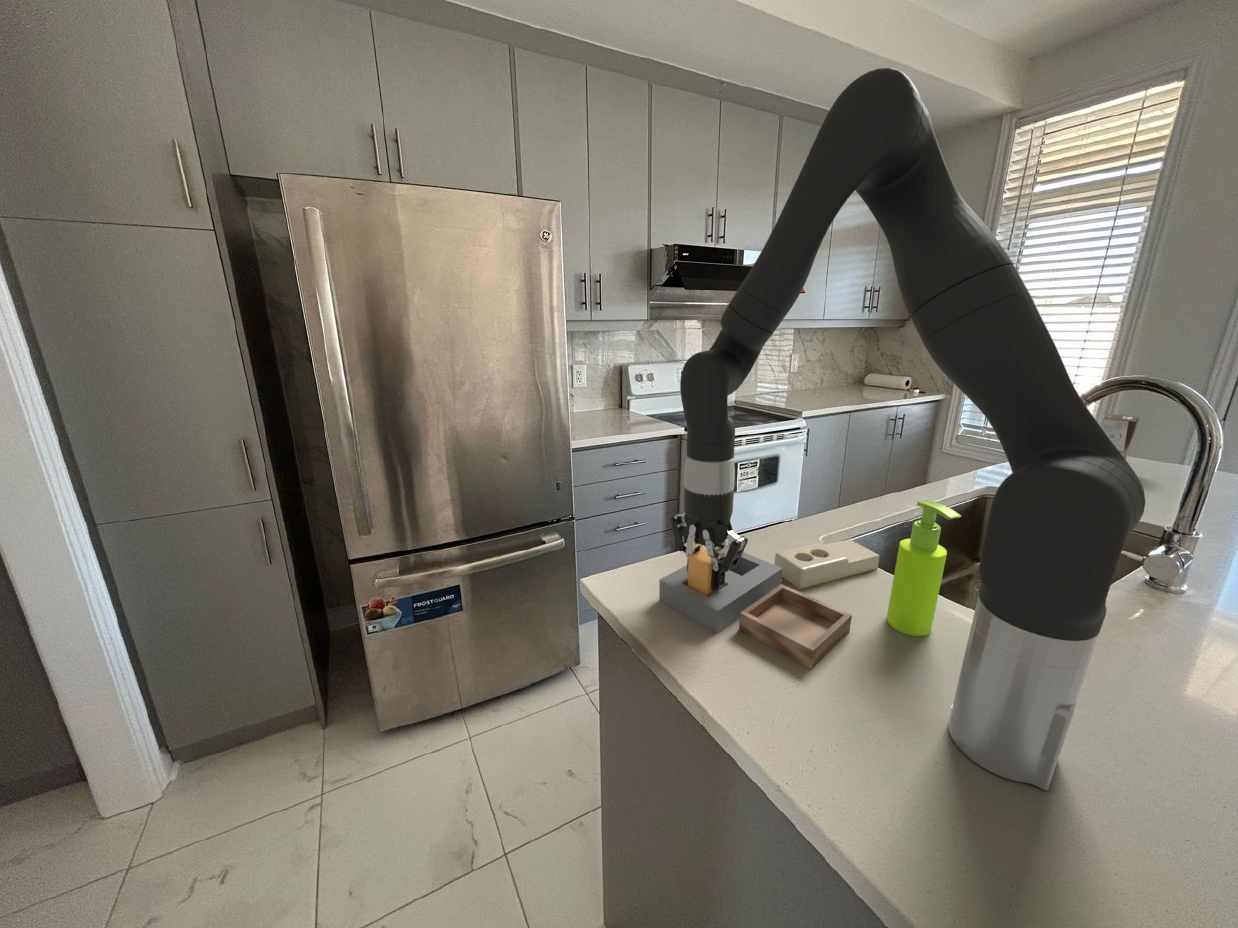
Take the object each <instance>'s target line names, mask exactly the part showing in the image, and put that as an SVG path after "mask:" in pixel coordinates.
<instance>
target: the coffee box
mask: <svg viewBox="0 0 1238 928" xmlns="http://www.w3.org/2000/svg"><path fill="white" fill-rule="evenodd" d="M1139 420H1140V416H1136V415H1135V416H1133V415H1126V414H1125V415H1123V414H1115V413H1114V414H1113V413H1109V414H1107V415H1106V416H1105V417H1104V418H1103V420H1102V425H1101V428H1102V429H1103V431H1104V432H1105V433H1106V435H1107V436H1108V437H1109V439H1110V440H1111V441H1112V443H1113V444H1114V445H1115V447H1116V448H1117V449H1118V451H1119V452H1120V453H1121V455H1122V456H1123V457H1124V459H1125V460H1126V461H1127V457H1128V454H1129V451H1130V449H1131V445H1132V442H1133V439H1134V435H1135V433H1136V429H1137V426H1138V422H1139Z"/></svg>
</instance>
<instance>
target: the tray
mask: <svg viewBox="0 0 1238 928" xmlns="http://www.w3.org/2000/svg"><path fill="white" fill-rule="evenodd" d="M852 617H853V615H852V614H851V613H848V612H846V611H844V610H842V609H839V608H837V607H835V606H832V605H831V604H828V603H826V602H824V601H822V600H818V599H817V598H814V597H811V596H810V595H807V594H805V593H803V592H800V591H798V590H797V589H793V588H791V587H789V586H786V585H785V584H782V583H781V585H779V586H778V587H776V588H775V589H773V590H772V591H771V592H769V593H768V594H766V595H765V596H763V597H762V598H760V599H759V600H758V601H756V602H755V603H753V604H752V605H750V606H749V607H748V608H746V609H745V610H743V611H742V612H740V618H739V623H738V630H739V631H741V632H742V633H745V634H746V635H748V636H749V637H752V638H754V639H755V640H757V641H759V642H761V643H763V644H764V645H766V646H769V647H770V648H772V649H773V650H775V651H777V652H779V653H781V654H783V655H784V656H786V657H788V658H790V659H791V660H794V661H795V662H797V663H799V664H801V665H803V666H805V667H806V668H808V669H810V670H812V669H813V668H814V667H815V666H816V665H817V664H818V663H819V662H821V660H822V659H823V658H824V657H826V655H828V654H829V653H830V651H832V649H834V648H835V647H836V646H837V645H838V644H839V642H841V641H842V640H843V639H844V638H845V637H846V636H847V635H848V634H849V633H850V630H851V625H852V624H851V623H852Z"/></svg>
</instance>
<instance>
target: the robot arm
mask: <svg viewBox="0 0 1238 928" xmlns="http://www.w3.org/2000/svg"><path fill="white" fill-rule="evenodd" d="M918 91H919V90H917V88H916V86H915V85H914V83H913V82H912V80H911V79H910V78H909V77H908V75H907V74H905V73H904V72H903V71H901V70H900V69H896V68H891V67H882V68H881V67H880V68H876V69H873V70H869V71H867V72H865V73H864V74H862V75H860V76H858V77H857V78H856V79H855V80H853V81H852V82H851V83H849V84H848V85H847V86H846V87H845V89H844V90H843V91H841V93H840V94H839V96H838V97H837V98H836V99H835V101H834V102H833V104H832V105H831V107H830V108H829V111H828V112H827V114H826V116H825V118H824V120H823V122H822V124H821V126H820V128H819V130H818V133H817V135H816V137H815V139H814V141H813V144H812V146H811V147H810V150H809V152H808V154H807V157H806V159H805V161H804V164H803V165H802V168H801V170H800V172H799V174H798V177H797V178H796V181H795V182H794V185H793V187H792V189H791V191H790V193H789V195H788V198H787V200H786V202H785V204H784V205H783V208H782V210H781V213H780V215H779V217H778V218H777V220H776V223H775V224H774V227H773V229H772V231H771V233H770V235H769V236H768V238H767V240H766V242H765V244H764V246H763V248H762V249H761V251H760V253H759V255H758V257H757V258H756V261H754V263H753V265H752V267H751V269H750V270H749V272H748V273H747V275H746V276H745V278H744V279H743V281H742V283H741V284H740V285H739V287H738V289H737V291H736V292H735V293H734V295H733V297H731V298H732V299H731V300H730V301H729V303H728V305H727V306H726V308H725V310H724V312H723V313H722V316H721V318H720V327H721V330H720V331H719V333H718V334H717V337H716V339H715V341H714V342H713V344H712V345H711V346H710V347H709V349H708V350H703V351H700V352H697V353H695V354H693V355H691V356H690V357H689V358H688V359H687V360H686V362H685V363H684V364H683V366H682V370H681V373H680V382H679V385H680V386H679V387H680V391H679V392H680V398H681V403H682V408H683V415H684V420H685V423H686V426H687V427H686V428H687V431H686V451H685V452H686V453H685V454H686V457H685V464H684V471H683V472H684V476H683V477H684V478H683V512H680V513H678V514H675V515H673V516H671V517H670V522H671V523H670V524H671V526H672V527H671V528H672V531H673V535H674V539H675V543H676V548H677V550H678V551H679V552H683V553H684V554H685V557H686V558H687V562H686V564H687V572H688V557H689V556H690V555H692V554H694V553H696V552H698V551H700V550H702V549H703V546H704V547H705V549H707V554H708V556H709V557H710V558H711V564H712V568H713V569H712V575H711V589H712V590H714V591H716V590H718V589H719V588H721V587H722V586H724V584H725V572H727V571H729V570H731V569H732V568H734V567H736V566H737V565H738V562H739V560H740V558H741V556H742V553H743V552H744V551H745V549H746V547H747V544H748V543H749V542H748V541H749V540H748V537H747V536H746V535H742V536H739V535H738V534H737V533H736V532H734V531H733V530H734V529H733V526H732V524H731V519H732V515H733V512H734V498H735V497H734V493H735V479H736V477H735V476H736V475H735V473H736V471H735V470H736V469H735V466H736V465H735V446H736V445H735V444H736V443H735V442H736V426H735V422H734V421H733V419H732V418H730V417H729V411H728V410H729V409H728V407H729V405H728V396H730V395H732V394H733V393H735V392H736V391H737V390H738V389H739V388H740V387H741V386H742V384H744V382H745V380H746V379H747V377H748V375H749V374H750V373H751V371H752V370H753V367H754V366H755V363H756V362H757V360H758V358H759V356H760V354H761V352H762V350H763V348H764V346H765V344H766V343H767V342H768V341H769V339H770V338H771V337H772V335H773V334H774V333H775V331H776V330H777V329H778V327H780V325H781V323H782V322H783V320H784V319H785V318H786V316H787V315H788V313H789V311H791V309H792V307H793V306H794V304H795V303H796V302H797V300H798V298H799V296H800V294H801V293H802V291H803V289H804V286H805V285H806V282H807V280H808V277H809V275H810V272H811V270H812V268H813V265H814V262H815V260H816V257H817V254H818V251H819V249H820V247H821V245H822V243H823V240H824V238H825V237H826V234H827V232H828V231H829V228H830V226H831V225H832V223H833V221H834V219H835V218H836V216H837V215H838V213H839V212H840V211H841V209H842V207H843V206H844V205H845V204H846V202H847V200H848V199H849V198H850V196H851V195H852V194H853V193H854V192H856V193H857V194H858V195H859V196H860V198H861V199H862V201H863V203H865V205H866V206H867V208H868V209H869V211H870V212H871V214H872V216H873V217H874V218H875V220H876V222H877V223H878V225H879V226H880V228H881V230H882V232H883V234H884V235H885V238H886V240H887V242H888V246H889V249H890V253H891V256H892V261H893V267H894V271H895V277H896V280H897V284H898V288H899V291H900V292H899V293H900V295H901V298H902V301H903V303H904V306H905V308H906V311H907V313H908V316H909V317H910V320H911V322H912V324H913V326H914V327H915V329H916V332H917V334H918V336H919V338H920V340H921V342H922V343H923V346H924V347H925V350H926V351H927V353H928V354H929V356H930V357H931V359H932V360H933V362H934V363H935V364H936V366H937V367H938V368H939V369H940V370H941V372H942V373H943V374H944V375H945V376H946V377H947V378H948V379H949V380H950V381H951V382H952V384H953V385H954V386H956V388H958V390H959V391H961V392H962V393H963V394H964V395H965V396H966V397H967V398H968V400H970V401H971V403H973V404H974V406H976V408H978V409H979V411H980V412H981V413H982V414H983V415H984V417H985V418H986V420H987V421H988V423H989V424H990V425H991V427H992V429H993V431H994V433H995V435H996V437H997V438H998V439H997V440H998V441H999V443H1000V445H1001V447H1002V450H1003V451H1004V454H1005V457H1006V459H1007V462H1008V465H1009V467H1010V469H1011V473H1010V474H1009V475H1008V476H1007V477H1006V478H1004V479H1003V481H1001V484H1000V485H999V486H998V488H997V490H996V491H995V494H994V496H993V499H992V502H991V505H990V509H989V513H988V518H987V521H986V526H985V532H984V537H983V542H982V548H981V552H980V559H979V563H978V575H979V581H980V588H979V593H978V596H977V600H976V604H975V605H976V606H975V609H974V613H973V618H972V623H971V626H970V630H969V635H968V639H967V641H966V647H965V651H964V656H963V659H962V660H963V661H962V664H961V668H960V671H959V676H958V681H957V686H956V689H955V694H954V698H953V702H952V705H951V709H950V712H949V714H950V715H949V720H948V723H947V724H948V725H947V727H948V732H949V734H950V737H951V739H952V740H953V742H954V744H955V745H956V747H958V748H959V750H960V751H961V752H962V753H963V754H964V755H966V757H968V758H969V759H971V761H972V762H974V763H975V764H977V765H978V766H980V767H982V768H983V769H985V770H987V771H989V772H990V773H992V774H993V775H994V774H995V775H997V776H999V777H1002V778H1005V779H1007V780H1011V781H1014V782H1017V783H1024V784H1031V785H1034V786H1036V787H1038V788H1039V789H1042V790H1044V791H1048V790H1049V788H1050V786H1051V785H1050V784H1051V782H1052V779H1053V776H1054V773H1055V770H1056V766H1057V764H1058V761H1059V758H1060V755H1061V752H1062V748H1063V746H1064V743H1065V739H1066V737H1067V733H1068V732H1069V728H1070V725H1071V723H1072V719H1073V716H1074V712H1075V709H1076V706H1077V702H1078V698H1079V696H1080V691H1081V690H1082V686H1083V683H1084V679H1085V675H1086V674H1087V670H1088V668H1089V664H1090V661H1091V659H1092V655H1093V652H1094V649H1095V647H1096V643H1097V640H1098V637H1099V634H1100V633H1101V630H1102V627H1103V623H1104V620H1105V618H1106V614H1107V606H1106V603H1107V598H1108V594H1109V592H1110V588H1111V585H1112V582H1113V579H1114V576H1115V573H1116V571H1117V570H1116V569H1117V566H1118V564H1119V560H1120V558H1121V554H1122V551H1123V548H1124V546H1125V542H1126V540H1127V537H1128V536H1129V535H1130V534H1131V533H1132V531H1133V530H1134V529H1135V528H1136V527H1137V525H1138V524H1139V523H1140V520H1141V518H1142V516H1143V515H1144V511H1145V507H1146V496H1145V489H1144V487H1143V484H1142V482H1141V480H1140V478H1139V476H1138V475H1137V474H1136V472H1135V471H1134V469H1133V468H1132V466H1131V465H1130V464H1129V463H1128V461H1127V459H1126V460H1125V459H1124V457H1123V456H1122V455H1121V453H1120V452H1119V451H1118V449H1117V448H1116V447H1115V445H1114V444H1113V443H1112V441H1111V440H1110V439H1109V437H1108V436H1107V435H1106V433H1105V432H1104V431H1103V429H1102V425H1100V423H1099V422H1098V421H1097V420H1096V418H1095V417H1094V415H1093V414H1092V413H1091V411H1090V410H1089V408H1088V407H1087V405H1086V404H1085V403H1084V401H1083V400H1082V398H1081V396H1080V395H1079V393H1078V391H1077V389H1076V388H1075V387H1074V386H1075V385H1074V383H1073V382H1072V379H1071V378H1070V376H1069V373H1068V371H1067V369H1066V367H1065V366H1066V365H1065V364H1064V362H1063V360H1062V357H1061V355H1060V353H1059V350H1058V348H1057V346H1056V344H1055V342H1054V340H1053V338H1052V336H1051V334H1050V332H1049V330H1048V328H1047V326H1046V324H1045V321H1044V320H1043V318H1042V316H1041V314H1040V312H1039V310H1038V307H1037V306H1036V304H1035V301H1034V298H1033V296H1032V295H1031V293H1030V292H1029V289H1028V288H1027V287H1026V285H1025V283H1024V281H1023V279H1022V277H1021V276H1020V273H1019V272H1018V271H1017V268H1016V266H1015V265H1014V263H1013V261H1012V260H1011V258H1010V256H1009V255H1008V253H1007V251H1006V250H1005V249H1004V247H1003V246H1002V245H1001V243H1000V241H999V240H998V239H997V238H996V236H995V235H994V233H993V232H992V230H990V229H989V227H988V226H987V225H986V223H984V221H983V220H982V219H981V217H979V216H978V214H976V212H975V211H974V210H973V209H972V208H971V207H970V206H969V204H968V203H967V202H966V201H965V199H964V198H963V197H962V196H961V193H960V192H959V190H958V189H957V187H956V184H955V183H954V181H953V179H952V175H951V173H950V171H949V169H948V166H947V164H946V161H945V159H944V156H943V152H942V151H941V148H940V145H939V142H938V140H937V139H938V138H937V136H936V134H935V130H934V126H933V122H932V119H931V117H930V113H929V110H928V109H927V106H926V105H925V104H924V102H923V99H922V98H921V95H920V93H919V92H918ZM727 541H728V542H727ZM727 547H728V548H729V550H728V552H727ZM726 552H727V555H726ZM718 556H719V558H718Z"/></svg>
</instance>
